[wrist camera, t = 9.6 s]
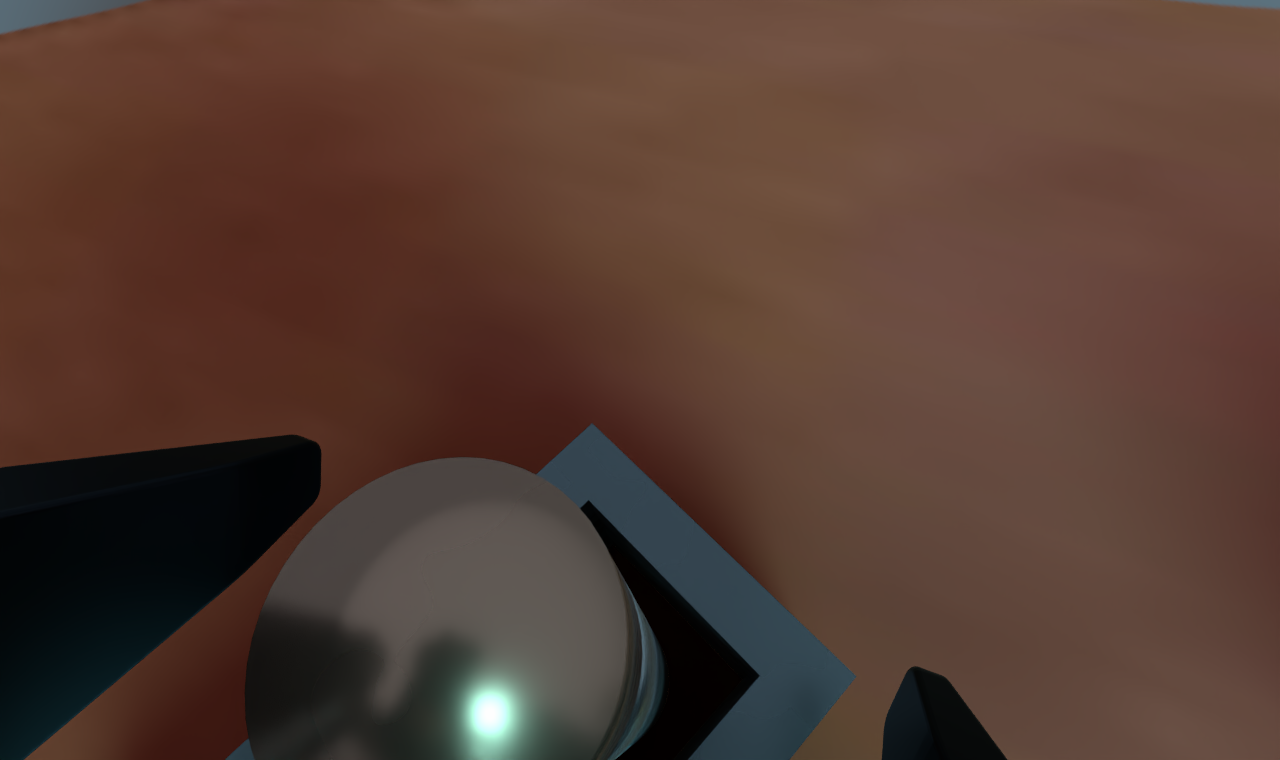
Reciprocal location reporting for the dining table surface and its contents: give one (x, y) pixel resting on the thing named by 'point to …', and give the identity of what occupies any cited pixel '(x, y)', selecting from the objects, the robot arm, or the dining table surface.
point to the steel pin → (452, 629)
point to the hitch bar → (703, 608)
